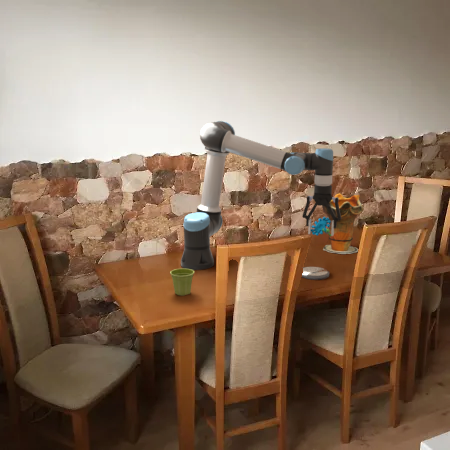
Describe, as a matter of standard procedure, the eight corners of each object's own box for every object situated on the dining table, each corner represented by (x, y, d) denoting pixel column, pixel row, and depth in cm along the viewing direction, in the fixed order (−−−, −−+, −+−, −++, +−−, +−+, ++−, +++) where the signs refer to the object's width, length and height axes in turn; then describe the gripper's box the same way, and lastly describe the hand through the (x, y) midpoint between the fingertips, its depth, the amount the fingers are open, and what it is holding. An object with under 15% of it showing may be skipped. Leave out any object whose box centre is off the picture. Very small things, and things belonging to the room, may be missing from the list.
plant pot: (173, 288, 208) (172, 267, 206) (196, 289, 207) (196, 268, 205) (168, 297, 199) (167, 275, 197) (192, 297, 198) (192, 276, 196)
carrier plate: (295, 277, 219) (296, 274, 219) (301, 268, 231) (301, 265, 231) (326, 281, 215) (326, 277, 215) (331, 271, 227) (331, 268, 227)
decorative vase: (314, 252, 254) (317, 196, 249) (324, 243, 275) (327, 191, 270) (357, 257, 246) (361, 199, 241) (364, 247, 267) (367, 193, 262)
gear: (306, 228, 234) (322, 213, 233) (313, 236, 237) (329, 221, 236) (317, 237, 224) (334, 221, 224) (325, 245, 227) (341, 229, 227)
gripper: (349, 184, 225) (347, 234, 230) (299, 181, 231) (297, 230, 237) (348, 187, 218) (345, 238, 223) (296, 184, 225) (294, 234, 230)
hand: (320, 234), depth 230 cm, fingers closed on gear, 9 cm apart
